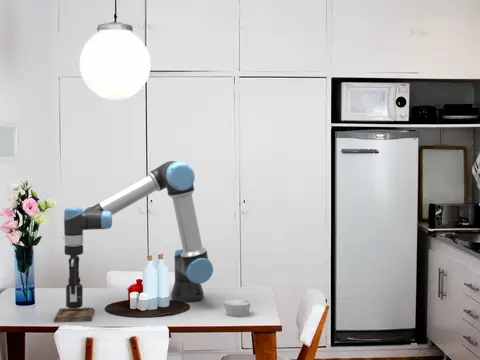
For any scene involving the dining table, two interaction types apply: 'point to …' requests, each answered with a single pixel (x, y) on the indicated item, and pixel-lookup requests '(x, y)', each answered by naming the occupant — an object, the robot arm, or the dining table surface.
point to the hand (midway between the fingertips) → (74, 299)
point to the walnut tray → (74, 314)
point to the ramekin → (237, 307)
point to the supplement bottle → (79, 295)
